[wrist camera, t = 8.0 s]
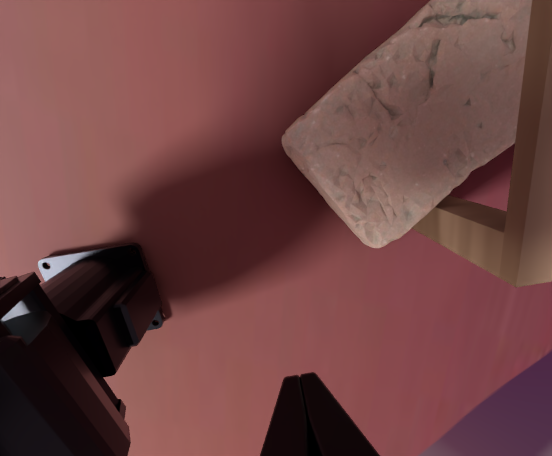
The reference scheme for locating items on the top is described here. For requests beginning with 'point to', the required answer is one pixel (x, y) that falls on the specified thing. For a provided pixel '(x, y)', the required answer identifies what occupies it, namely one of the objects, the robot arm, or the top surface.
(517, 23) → the brick
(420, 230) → the shelf frame
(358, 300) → the top surface
